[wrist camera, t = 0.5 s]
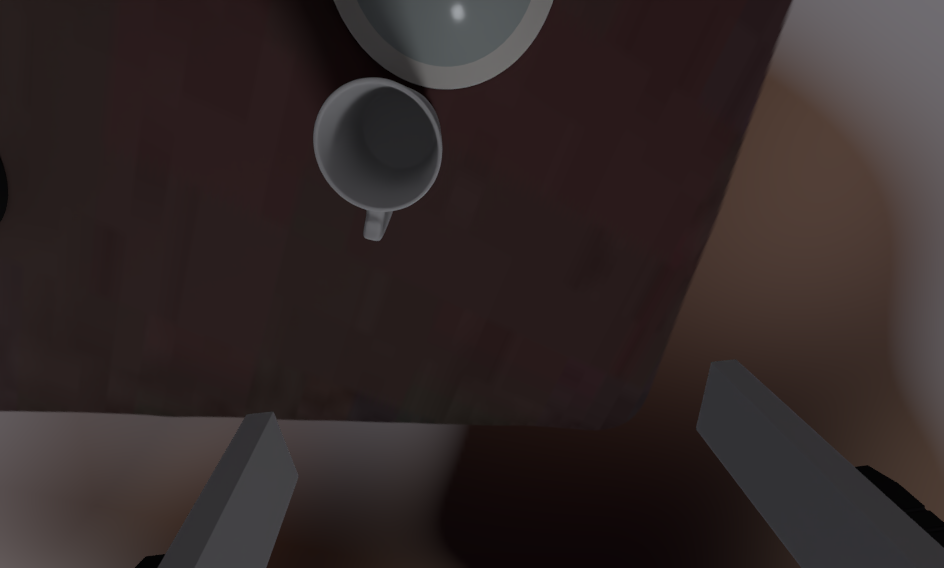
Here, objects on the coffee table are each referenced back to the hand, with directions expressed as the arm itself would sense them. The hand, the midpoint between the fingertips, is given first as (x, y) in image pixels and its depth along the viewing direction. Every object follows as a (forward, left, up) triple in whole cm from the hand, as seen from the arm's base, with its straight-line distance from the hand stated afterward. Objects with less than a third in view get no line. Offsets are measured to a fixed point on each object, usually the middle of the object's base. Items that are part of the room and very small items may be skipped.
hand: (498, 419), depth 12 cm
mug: (-7, +2, -26) cm, 26 cm away
